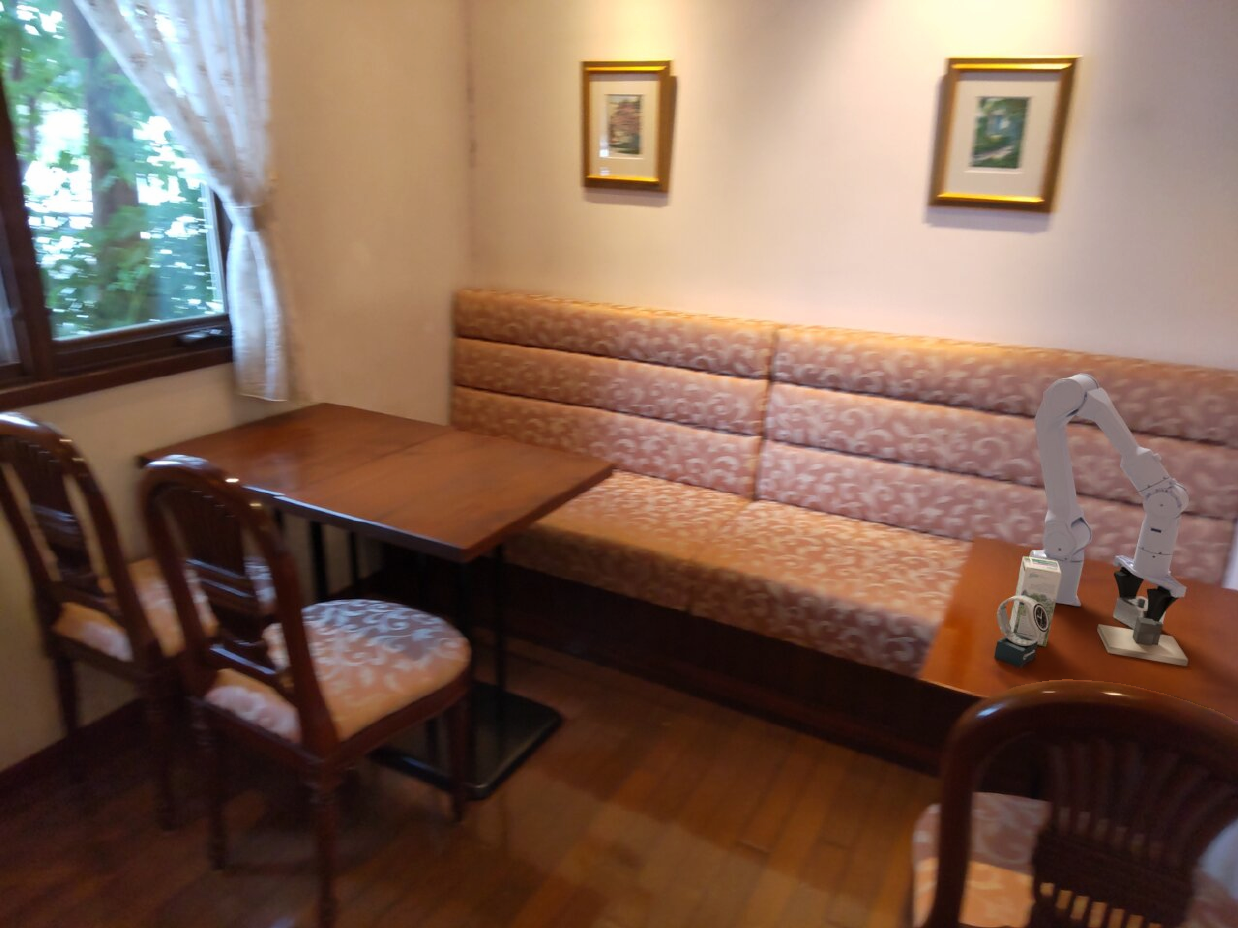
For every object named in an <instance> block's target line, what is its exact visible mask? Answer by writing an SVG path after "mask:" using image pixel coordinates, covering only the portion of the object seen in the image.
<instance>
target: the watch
mask: <svg viewBox="0 0 1238 928" xmlns="http://www.w3.org/2000/svg"><path fill="white" fill-rule="evenodd" d="M1014 600H1017V601H1020V602H1023V603H1025V604H1024V606H1025V609H1026V617H1027V622H1028V624H1029V626H1030V628H1031V629H1032V631H1034V635H1035V638H1036V639H1035V640H1032V639H1029V638H1027V637H1024V636H1022V635H1019V634H1017V633H1014V632H1012V631H1011V629H1012V628H1011V626H1010V623H1009V622H1010V619H1009V618H1008V617H1009V616H1008V611H1007V604H1008V603H1009V602H1012V601H1014ZM996 618H997V624H998V626H999V629H1000V631H1001V634H1002V635H1004V636H1003V637H1001V638H1000V639H998V640H996V641H997V642H996V646H995V651H994V656H993V658H994V659H996V660H997V659H998V660H1000V661H1002V662H1004V663H1007V664H1009V665H1011V666H1013V667H1015V668H1018V669H1020V668H1021V667H1023V666H1025V665H1026V664H1028V663H1030V662H1031V661H1033V660H1034V659H1035V656H1036V653H1037V652H1036V651H1037V648H1038V645H1037V643H1038V642H1037V641H1039V640H1040V639H1041V638H1042V637H1044V635H1045V633H1046V632H1047V631H1048V629H1049V617H1048V613H1047V611H1046V609H1045V608H1044V606H1043V605H1042V604H1040V603H1038V602H1037V601H1036V600H1034V599H1032V598H1030V597H1027V596H1023V595H1018V596H1015V595H1013V596H1011V597H1009V598H1007V599H1005V600H1003V601H1002V602H1001V603H1000V604H999V606H998V608H997V612H996Z"/></svg>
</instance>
